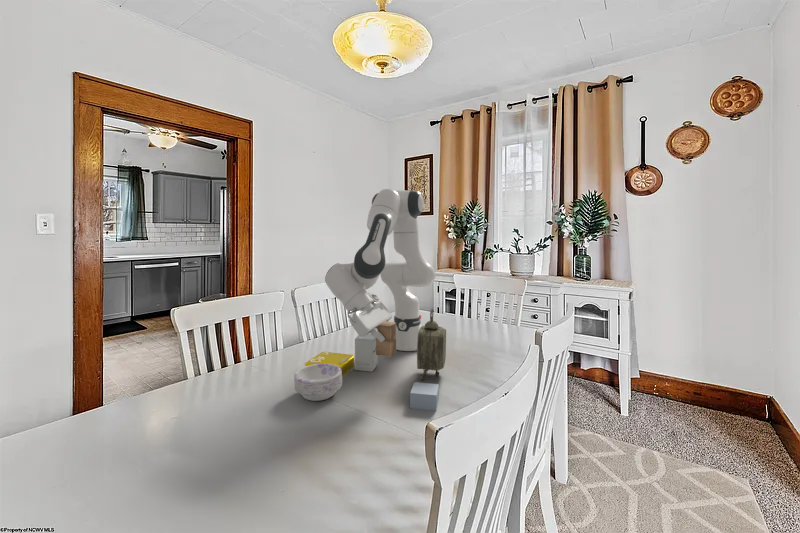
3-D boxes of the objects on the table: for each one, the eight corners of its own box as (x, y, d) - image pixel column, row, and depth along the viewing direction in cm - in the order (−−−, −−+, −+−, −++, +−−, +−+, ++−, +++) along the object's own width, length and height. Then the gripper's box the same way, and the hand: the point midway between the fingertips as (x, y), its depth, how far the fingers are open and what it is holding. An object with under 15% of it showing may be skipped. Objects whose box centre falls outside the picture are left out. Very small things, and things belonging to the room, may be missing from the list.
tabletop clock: (422, 367, 145) (423, 304, 143) (445, 369, 143) (446, 305, 141) (416, 382, 131) (417, 312, 129) (442, 384, 129) (443, 314, 127)
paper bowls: (284, 401, 117) (284, 376, 116) (312, 382, 131) (311, 360, 130) (326, 409, 111) (326, 384, 110) (350, 389, 126) (350, 366, 125)
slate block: (414, 397, 120) (414, 382, 120) (438, 399, 119) (438, 384, 118) (410, 408, 112) (410, 392, 112) (436, 411, 111) (436, 395, 110)
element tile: (339, 379, 134) (339, 367, 134) (303, 375, 138) (302, 362, 138) (356, 365, 148) (356, 353, 148) (322, 361, 153) (322, 349, 152)
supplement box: (372, 371, 140) (372, 339, 139) (354, 370, 142) (354, 338, 141) (377, 364, 148) (377, 334, 146) (360, 363, 149) (359, 332, 148)
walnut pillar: (382, 350, 124) (382, 320, 123) (396, 351, 122) (396, 322, 121) (375, 354, 120) (375, 324, 118) (390, 356, 118) (390, 326, 117)
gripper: (351, 305, 112) (381, 340, 109) (379, 294, 131) (405, 323, 128) (338, 318, 114) (367, 353, 112) (367, 305, 133) (393, 334, 131)
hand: (387, 337), depth 120 cm, fingers closed on walnut pillar, 5 cm apart
